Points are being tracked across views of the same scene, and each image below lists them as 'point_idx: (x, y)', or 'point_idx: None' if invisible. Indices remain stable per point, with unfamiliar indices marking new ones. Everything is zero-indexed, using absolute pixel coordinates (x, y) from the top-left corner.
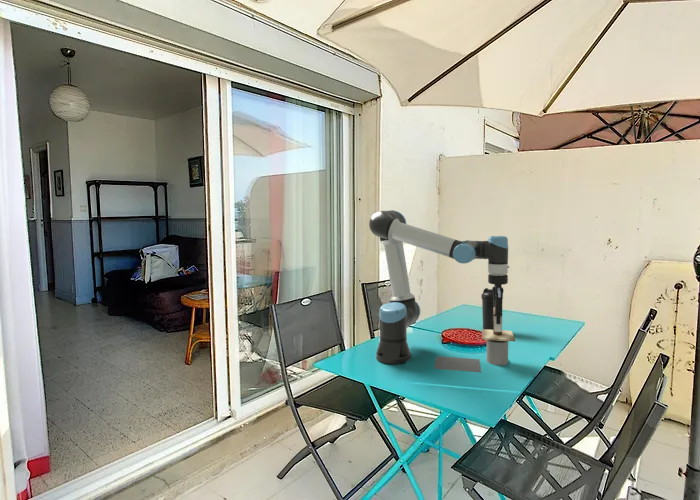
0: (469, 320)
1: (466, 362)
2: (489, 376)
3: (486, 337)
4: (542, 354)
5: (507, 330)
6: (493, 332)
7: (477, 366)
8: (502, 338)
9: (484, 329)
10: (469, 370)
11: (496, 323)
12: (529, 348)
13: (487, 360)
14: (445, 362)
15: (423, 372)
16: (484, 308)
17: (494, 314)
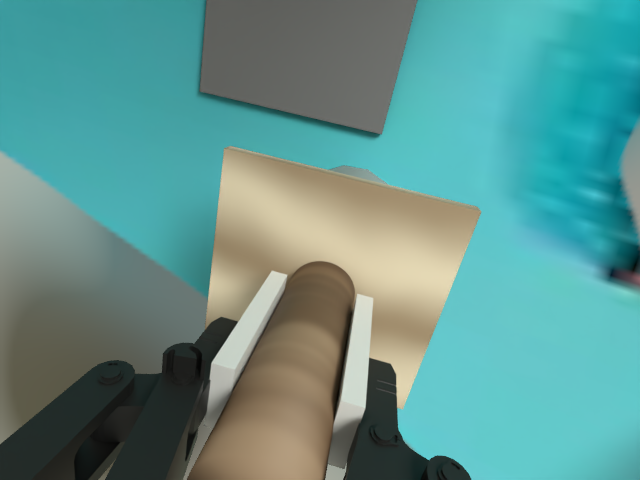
0: None
1: (333, 38)
2: (177, 124)
3: (235, 178)
4: (435, 437)
5: (410, 388)
6: (317, 267)
7: (274, 92)
8: (218, 285)
9: (467, 235)
10: (215, 29)
11: (234, 322)
12: (523, 428)
13: (338, 169)
14: None
15: None
16: None
17: (250, 382)
